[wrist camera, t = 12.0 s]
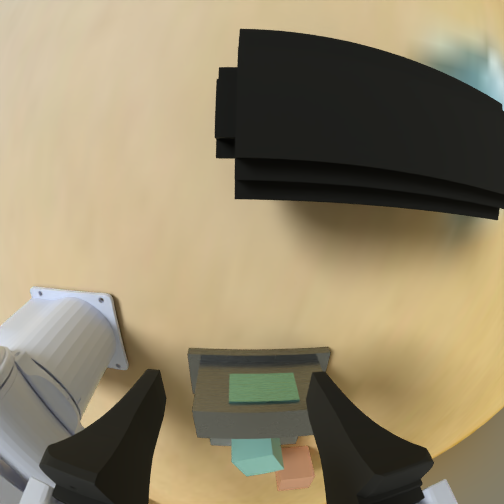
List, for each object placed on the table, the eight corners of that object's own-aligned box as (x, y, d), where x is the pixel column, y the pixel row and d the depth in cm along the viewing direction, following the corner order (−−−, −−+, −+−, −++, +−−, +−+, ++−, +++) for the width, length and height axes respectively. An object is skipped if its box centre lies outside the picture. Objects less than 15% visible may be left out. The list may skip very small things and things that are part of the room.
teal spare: (245, 441, 26) (246, 476, 22) (231, 423, 25) (231, 462, 20) (279, 433, 26) (284, 469, 21) (268, 415, 25) (272, 454, 20)
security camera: (447, 199, 19) (536, 230, 10) (225, 181, 18) (209, 205, 9) (451, 121, 17) (541, 120, 7) (227, 82, 16) (217, 11, 7)
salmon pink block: (274, 461, 30) (277, 490, 25) (276, 448, 28) (281, 480, 24) (303, 458, 30) (308, 487, 25) (308, 445, 28) (315, 476, 24)
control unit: (193, 387, 24) (185, 440, 18) (188, 347, 22) (176, 403, 16) (318, 385, 25) (334, 436, 18) (328, 346, 23) (350, 398, 17)
